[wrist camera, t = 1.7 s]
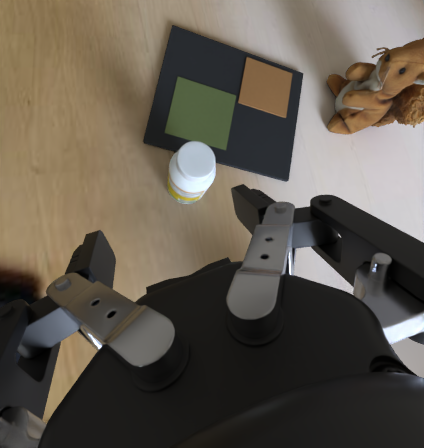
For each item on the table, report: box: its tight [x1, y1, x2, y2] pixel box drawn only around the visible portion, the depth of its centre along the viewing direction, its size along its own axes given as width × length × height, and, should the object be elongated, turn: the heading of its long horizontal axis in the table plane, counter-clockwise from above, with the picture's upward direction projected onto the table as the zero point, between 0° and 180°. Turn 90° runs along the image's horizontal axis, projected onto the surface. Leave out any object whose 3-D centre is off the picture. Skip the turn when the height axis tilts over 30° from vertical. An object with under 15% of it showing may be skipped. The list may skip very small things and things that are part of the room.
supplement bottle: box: [167, 141, 216, 204], centre depth 28 cm, size 5×5×10 cm
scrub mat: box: [143, 25, 303, 182], centre depth 36 cm, size 22×19×1 cm
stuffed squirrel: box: [327, 38, 424, 134], centre depth 35 cm, size 10×14×13 cm
